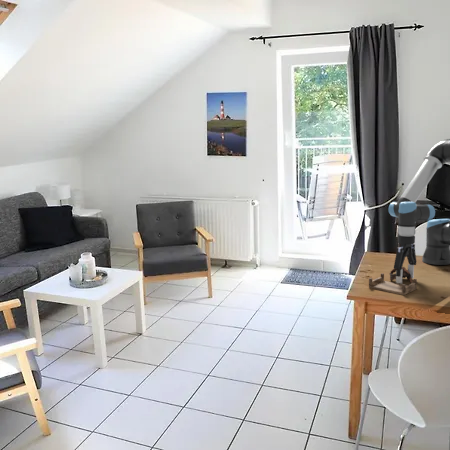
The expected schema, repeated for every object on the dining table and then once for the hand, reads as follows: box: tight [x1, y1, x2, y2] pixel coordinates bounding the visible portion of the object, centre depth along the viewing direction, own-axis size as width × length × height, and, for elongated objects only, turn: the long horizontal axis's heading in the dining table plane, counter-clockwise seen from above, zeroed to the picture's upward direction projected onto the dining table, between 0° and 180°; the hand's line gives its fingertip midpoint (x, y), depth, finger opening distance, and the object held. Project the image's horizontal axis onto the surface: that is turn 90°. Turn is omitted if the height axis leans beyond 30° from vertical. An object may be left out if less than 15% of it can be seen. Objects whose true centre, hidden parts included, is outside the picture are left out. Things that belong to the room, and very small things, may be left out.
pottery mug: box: [389, 266, 413, 284], centre depth 233 cm, size 12×9×8 cm
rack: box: [368, 273, 418, 296], centre depth 222 cm, size 12×17×4 cm
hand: (404, 280), depth 231 cm, fingers closed on pottery mug, 11 cm apart
